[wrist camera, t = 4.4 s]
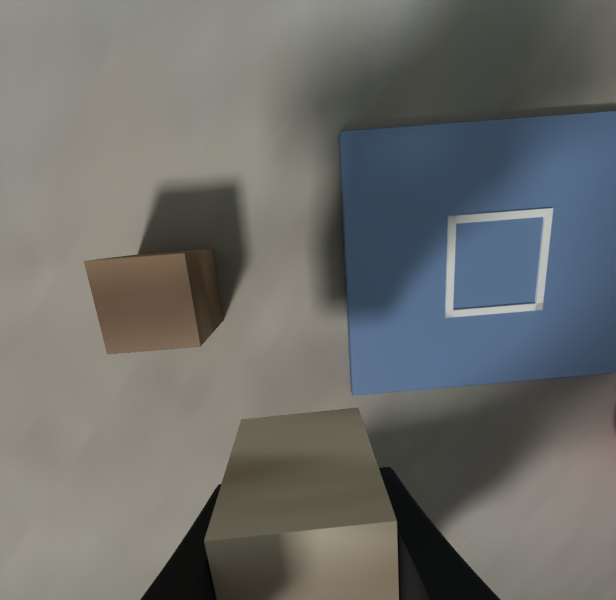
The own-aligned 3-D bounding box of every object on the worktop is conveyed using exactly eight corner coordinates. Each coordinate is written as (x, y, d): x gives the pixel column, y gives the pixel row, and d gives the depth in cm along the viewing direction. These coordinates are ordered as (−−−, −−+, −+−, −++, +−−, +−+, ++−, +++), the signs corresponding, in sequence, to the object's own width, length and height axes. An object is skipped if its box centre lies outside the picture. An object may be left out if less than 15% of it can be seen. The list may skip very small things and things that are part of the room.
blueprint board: (611, 367, 18) (623, 373, 17) (350, 390, 17) (352, 396, 17) (654, 112, 15) (672, 106, 14) (338, 135, 14) (340, 130, 14)
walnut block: (224, 319, 16) (200, 346, 12) (153, 325, 16) (107, 354, 12) (213, 248, 15) (184, 253, 12) (138, 254, 15) (83, 261, 12)
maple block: (363, 502, 11) (400, 655, 7) (256, 514, 11) (233, 673, 7) (358, 407, 10) (396, 521, 6) (241, 419, 10) (203, 541, 6)
